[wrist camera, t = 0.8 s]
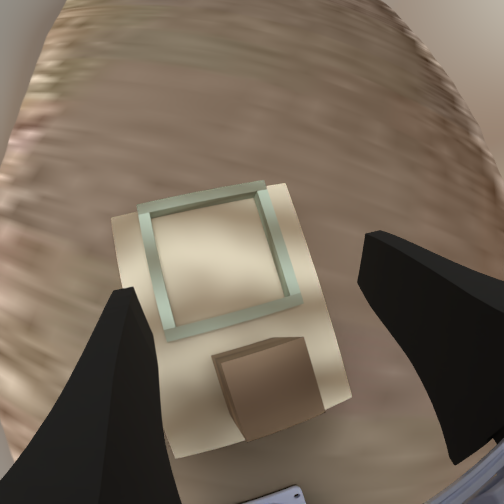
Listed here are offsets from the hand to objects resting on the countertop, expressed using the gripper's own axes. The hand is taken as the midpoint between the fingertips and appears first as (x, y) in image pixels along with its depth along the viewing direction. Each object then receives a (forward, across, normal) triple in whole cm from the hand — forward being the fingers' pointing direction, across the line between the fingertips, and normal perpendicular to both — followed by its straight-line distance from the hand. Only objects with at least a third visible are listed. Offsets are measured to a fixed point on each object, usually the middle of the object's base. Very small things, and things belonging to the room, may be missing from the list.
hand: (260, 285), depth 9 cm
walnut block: (+5, 0, +12) cm, 13 cm away
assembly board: (+9, 0, +10) cm, 13 cm away
